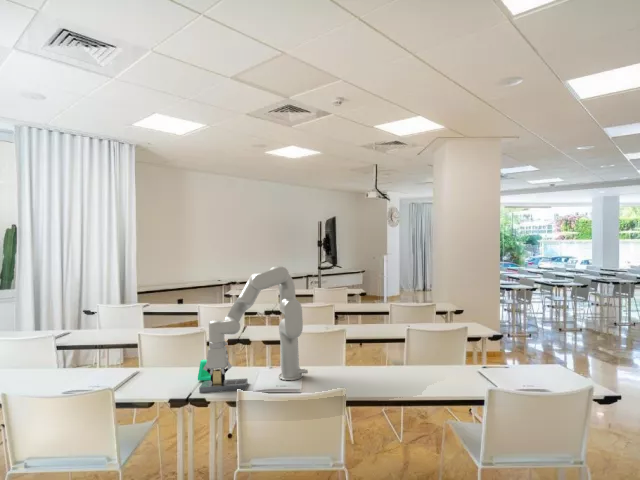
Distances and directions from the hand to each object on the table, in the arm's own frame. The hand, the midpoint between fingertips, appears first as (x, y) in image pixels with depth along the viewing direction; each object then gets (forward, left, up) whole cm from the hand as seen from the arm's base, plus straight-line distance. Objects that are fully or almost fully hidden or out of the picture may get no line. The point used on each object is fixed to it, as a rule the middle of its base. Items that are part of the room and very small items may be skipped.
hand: (217, 381), depth 194 cm
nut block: (0, 0, -1) cm, 1 cm away
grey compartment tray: (-3, 0, -3) cm, 4 cm away
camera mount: (+8, -17, -4) cm, 19 cm away
